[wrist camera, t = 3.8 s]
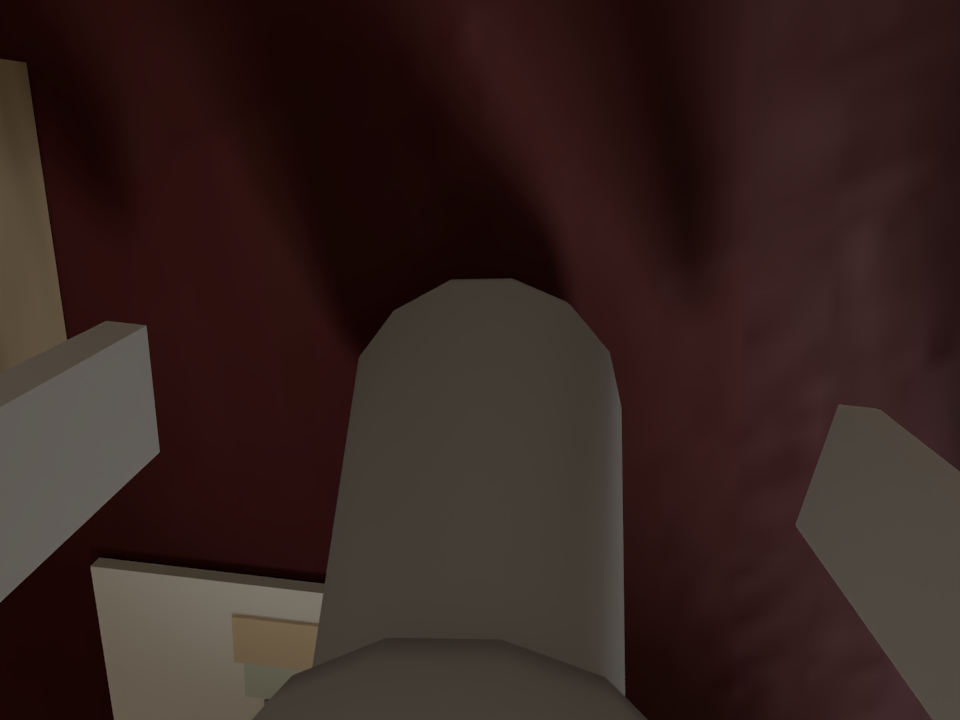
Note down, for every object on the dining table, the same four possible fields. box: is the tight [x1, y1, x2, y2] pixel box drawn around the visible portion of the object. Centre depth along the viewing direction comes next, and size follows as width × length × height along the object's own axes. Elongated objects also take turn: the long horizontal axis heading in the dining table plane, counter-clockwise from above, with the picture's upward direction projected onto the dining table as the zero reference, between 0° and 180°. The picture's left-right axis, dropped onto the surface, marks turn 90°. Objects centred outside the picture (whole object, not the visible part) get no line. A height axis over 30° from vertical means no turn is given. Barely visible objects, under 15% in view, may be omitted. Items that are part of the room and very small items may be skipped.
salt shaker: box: [252, 278, 648, 720], centre depth 9 cm, size 6×6×13 cm
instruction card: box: [90, 557, 325, 720], centre depth 20 cm, size 12×9×1 cm
